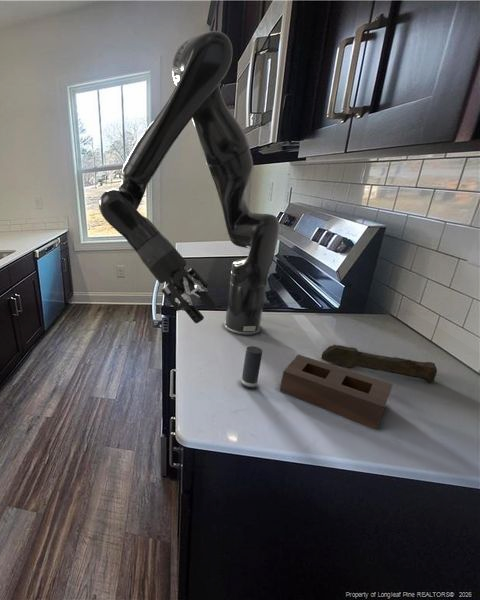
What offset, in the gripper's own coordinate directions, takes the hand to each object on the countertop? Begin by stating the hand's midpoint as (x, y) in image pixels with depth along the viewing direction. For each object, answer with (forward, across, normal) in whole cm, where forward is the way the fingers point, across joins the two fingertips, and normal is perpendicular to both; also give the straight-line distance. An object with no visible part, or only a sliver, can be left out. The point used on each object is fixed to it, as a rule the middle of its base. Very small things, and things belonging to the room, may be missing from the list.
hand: (207, 314), depth 70 cm
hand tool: (+32, +21, -11) cm, 40 cm away
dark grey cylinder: (+18, 0, +3) cm, 18 cm away
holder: (+28, +5, -7) cm, 29 cm away
